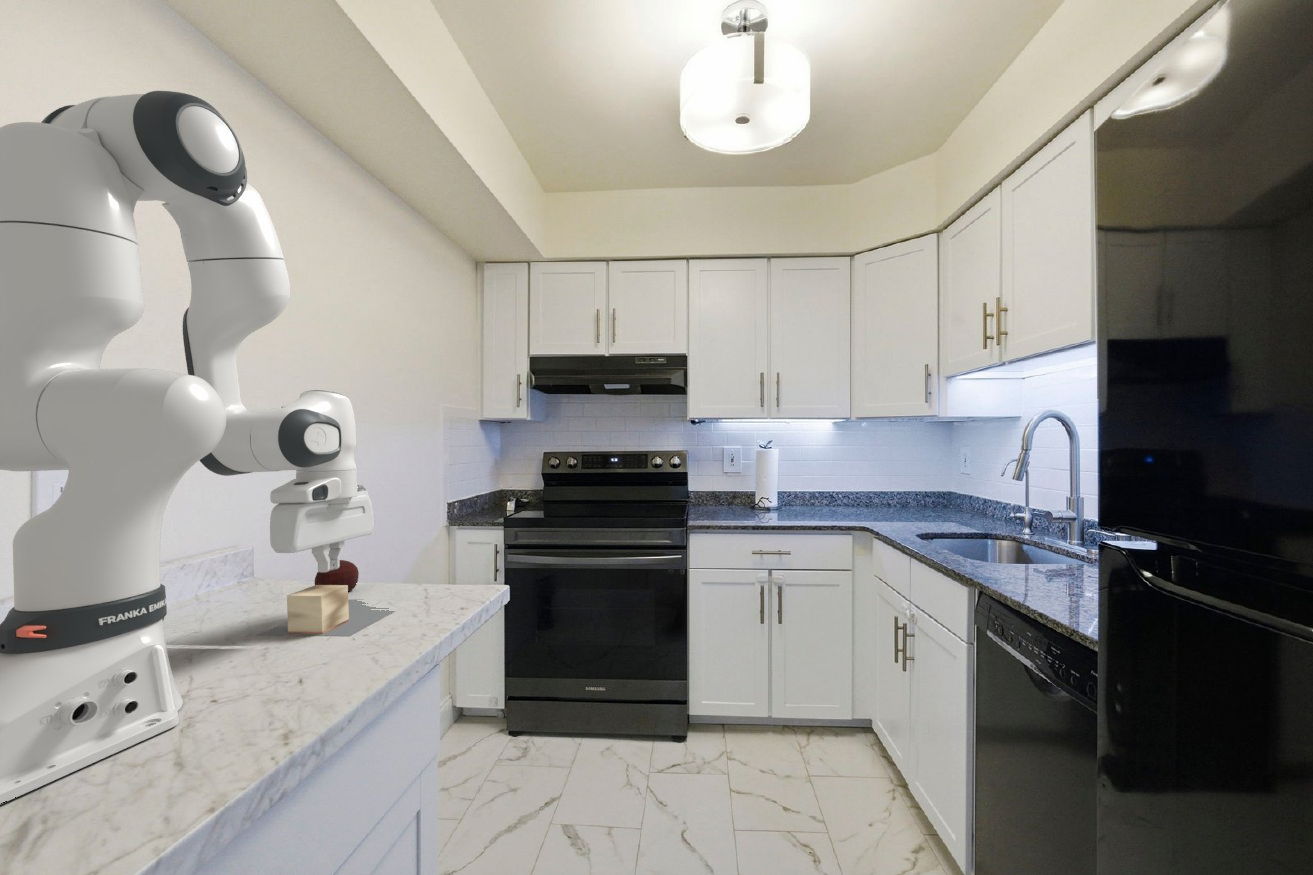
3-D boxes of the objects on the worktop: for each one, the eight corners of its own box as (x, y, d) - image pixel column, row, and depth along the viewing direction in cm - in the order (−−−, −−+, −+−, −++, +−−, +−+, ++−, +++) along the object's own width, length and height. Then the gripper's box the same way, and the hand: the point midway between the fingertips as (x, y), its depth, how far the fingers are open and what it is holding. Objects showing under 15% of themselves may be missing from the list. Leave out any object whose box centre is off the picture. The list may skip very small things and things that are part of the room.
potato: (361, 595, 109) (360, 560, 109) (315, 602, 105) (314, 566, 105) (357, 587, 115) (356, 554, 115) (314, 594, 111) (313, 560, 111)
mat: (349, 639, 84) (349, 636, 84) (255, 638, 86) (255, 635, 86) (417, 602, 103) (417, 599, 103) (338, 602, 105) (338, 599, 105)
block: (347, 585, 91) (348, 620, 91) (315, 585, 92) (316, 620, 92) (321, 595, 85) (322, 633, 85) (286, 595, 86) (288, 633, 86)
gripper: (351, 484, 102) (352, 558, 102) (260, 493, 82) (262, 585, 82) (382, 483, 102) (384, 558, 101) (299, 492, 81) (300, 585, 81)
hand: (328, 570), depth 91 cm, fingers closed
